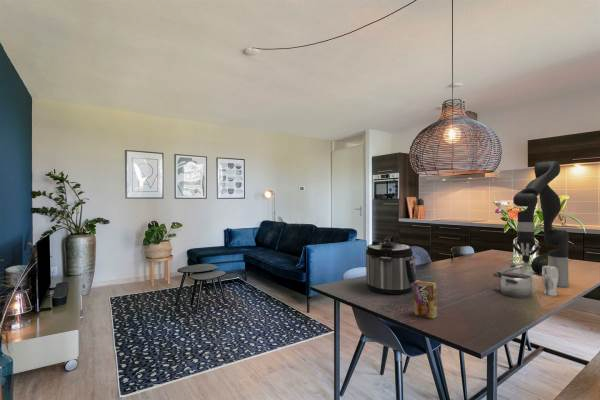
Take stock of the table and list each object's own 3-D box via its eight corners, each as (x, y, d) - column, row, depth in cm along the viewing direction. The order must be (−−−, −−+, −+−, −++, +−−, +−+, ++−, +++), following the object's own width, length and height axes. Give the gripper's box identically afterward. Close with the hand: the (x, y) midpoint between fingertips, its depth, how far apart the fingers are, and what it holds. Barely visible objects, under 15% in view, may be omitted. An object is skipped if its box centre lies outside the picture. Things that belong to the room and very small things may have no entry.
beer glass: (552, 296, 162) (551, 268, 162) (539, 293, 169) (538, 266, 169) (562, 295, 164) (561, 267, 164) (548, 292, 171) (548, 265, 171)
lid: (502, 271, 180) (501, 268, 180) (532, 262, 169) (530, 259, 170) (494, 275, 170) (492, 272, 170) (525, 266, 159) (523, 263, 160)
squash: (530, 267, 206) (547, 251, 203) (523, 264, 220) (540, 249, 217) (550, 283, 202) (568, 267, 198) (542, 278, 216) (559, 263, 212)
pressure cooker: (392, 300, 163) (391, 240, 163) (355, 287, 186) (354, 235, 186) (426, 290, 179) (425, 235, 179) (388, 280, 203) (387, 232, 203)
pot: (500, 286, 183) (499, 269, 183) (535, 292, 170) (535, 274, 170) (489, 293, 170) (489, 275, 170) (527, 300, 157) (527, 280, 157)
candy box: (437, 316, 139) (436, 282, 139) (434, 319, 136) (433, 284, 136) (418, 311, 145) (417, 279, 145) (414, 314, 142) (413, 281, 142)
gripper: (542, 230, 163) (542, 263, 163) (513, 229, 173) (513, 259, 173) (539, 231, 158) (539, 265, 158) (509, 230, 168) (509, 261, 168)
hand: (526, 262), depth 165 cm, fingers closed
